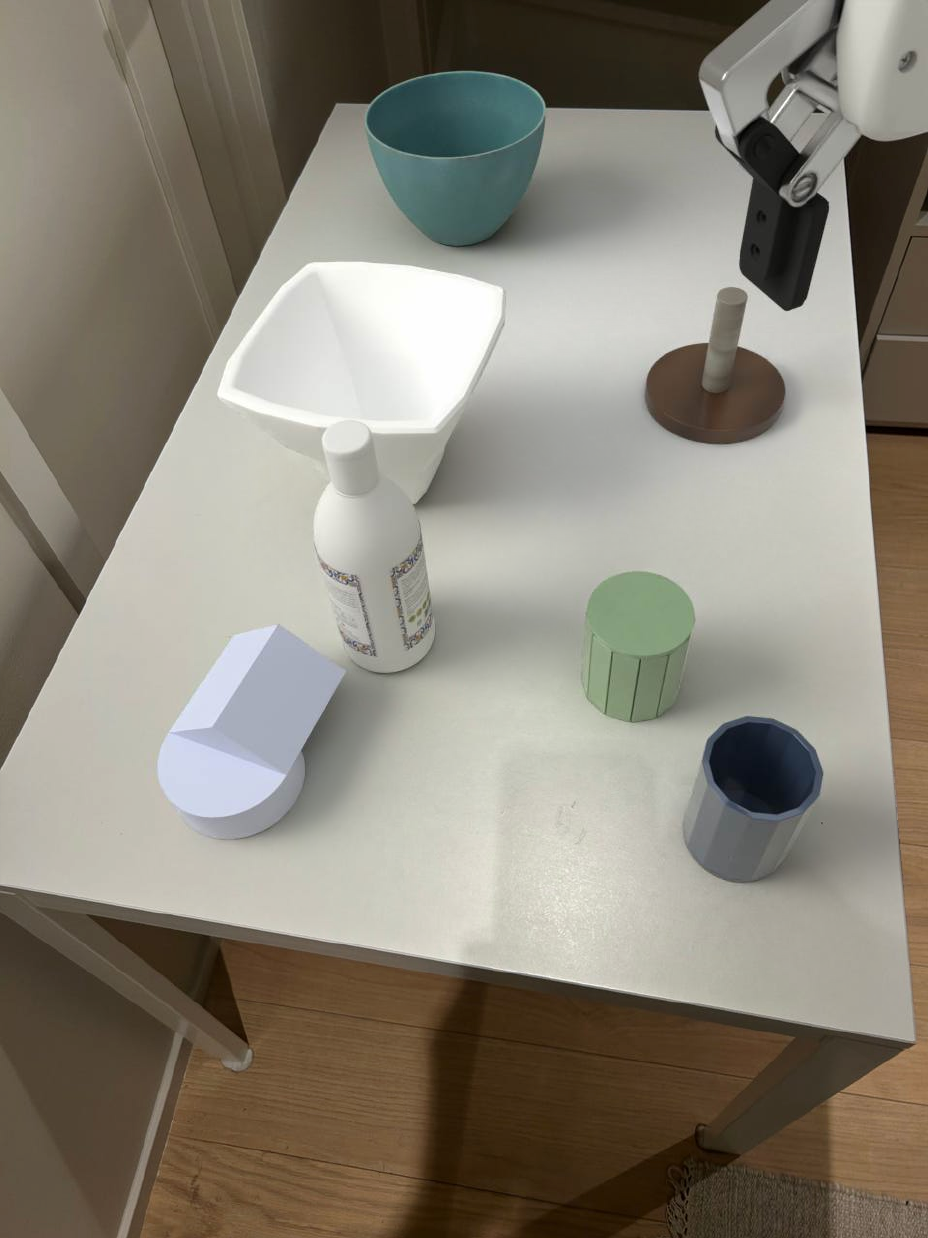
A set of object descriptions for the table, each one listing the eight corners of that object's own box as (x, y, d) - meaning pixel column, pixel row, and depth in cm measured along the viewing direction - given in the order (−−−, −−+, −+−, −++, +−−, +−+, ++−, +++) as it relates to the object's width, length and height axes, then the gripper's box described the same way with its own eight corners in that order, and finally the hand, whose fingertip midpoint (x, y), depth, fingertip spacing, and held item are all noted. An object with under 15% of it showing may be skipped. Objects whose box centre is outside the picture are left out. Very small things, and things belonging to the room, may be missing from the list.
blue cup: (794, 804, 60) (830, 734, 52) (777, 898, 56) (812, 837, 49) (695, 774, 61) (716, 702, 54) (672, 864, 58) (691, 800, 50)
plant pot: (538, 177, 108) (538, 63, 98) (551, 266, 97) (553, 148, 87) (382, 188, 108) (367, 76, 99) (378, 279, 97) (361, 163, 88)
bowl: (525, 416, 83) (523, 278, 72) (459, 579, 72) (445, 446, 61) (333, 385, 87) (303, 249, 76) (244, 534, 77) (194, 402, 66)
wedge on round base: (245, 661, 69) (147, 812, 62) (221, 606, 64) (110, 765, 57) (353, 696, 67) (263, 858, 60) (337, 642, 61) (236, 813, 54)
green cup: (689, 655, 67) (705, 585, 60) (666, 733, 63) (681, 667, 57) (597, 630, 69) (604, 560, 62) (570, 705, 65) (574, 638, 59)
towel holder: (792, 369, 85) (820, 265, 76) (768, 456, 78) (796, 353, 70) (662, 345, 88) (676, 243, 80) (629, 428, 81) (640, 326, 73)
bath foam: (429, 594, 72) (398, 387, 56) (442, 667, 68) (413, 467, 52) (340, 608, 71) (283, 405, 55) (347, 683, 67) (289, 487, 51)
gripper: (892, -371, 17) (739, 381, 31) (1541, -495, 20) (1143, 233, 34) (673, -402, 21) (625, 269, 35) (1238, -501, 25) (993, 147, 38)
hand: (880, 250), depth 34 cm, fingers open, 9 cm apart
